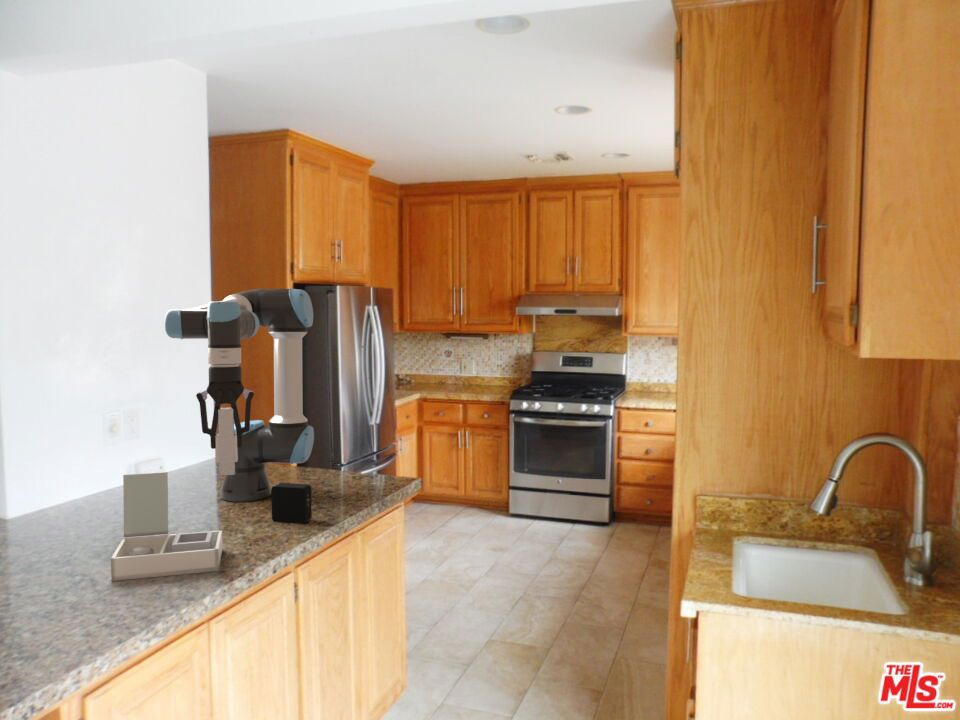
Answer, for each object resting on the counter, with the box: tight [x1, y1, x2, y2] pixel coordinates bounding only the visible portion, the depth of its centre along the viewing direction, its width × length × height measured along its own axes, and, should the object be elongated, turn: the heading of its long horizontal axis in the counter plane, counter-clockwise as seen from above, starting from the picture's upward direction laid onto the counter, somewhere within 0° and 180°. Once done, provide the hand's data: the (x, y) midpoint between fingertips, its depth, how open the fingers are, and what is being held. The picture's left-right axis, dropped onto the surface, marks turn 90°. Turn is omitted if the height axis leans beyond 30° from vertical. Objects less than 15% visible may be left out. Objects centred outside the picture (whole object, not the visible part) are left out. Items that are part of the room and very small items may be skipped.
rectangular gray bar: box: [218, 406, 235, 476], centre depth 173 cm, size 3×3×16 cm
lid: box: [122, 471, 169, 538], centre depth 170 cm, size 15×10×1 cm
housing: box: [110, 530, 224, 582], centre depth 165 cm, size 14×22×6 cm, turn 106°
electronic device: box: [270, 482, 312, 525], centre depth 198 cm, size 4×10×10 cm, turn 78°
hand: (227, 460), depth 174 cm, fingers closed on rectangular gray bar, 3 cm apart
